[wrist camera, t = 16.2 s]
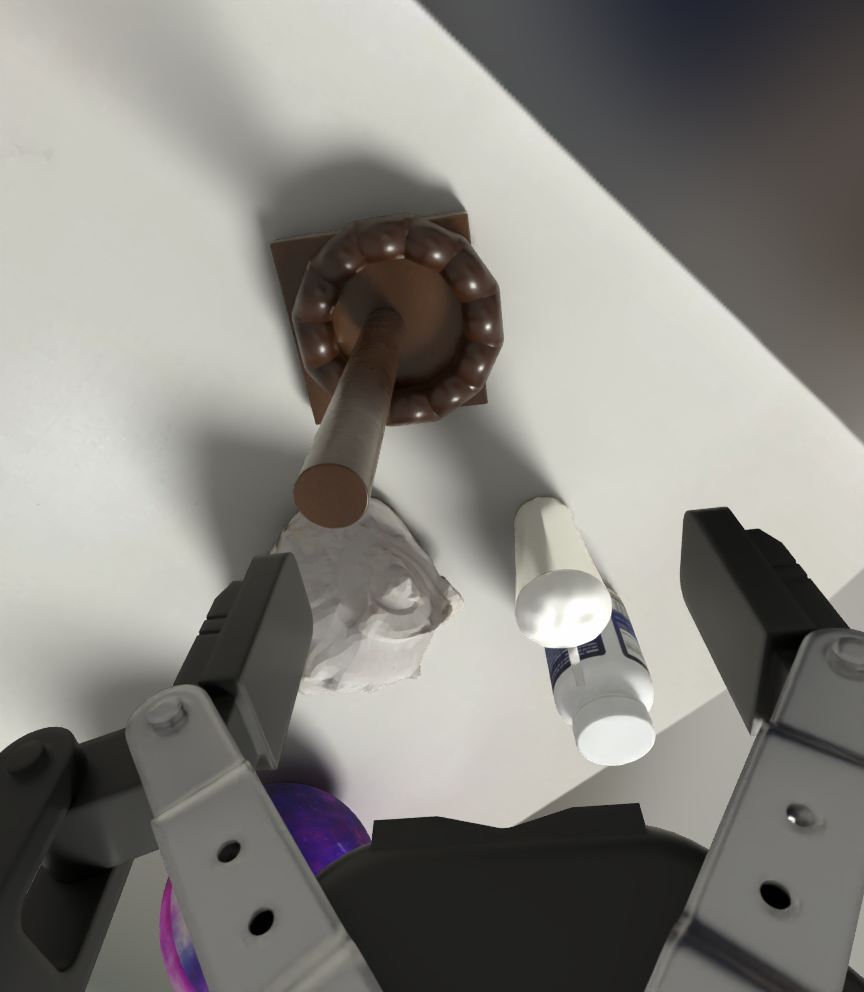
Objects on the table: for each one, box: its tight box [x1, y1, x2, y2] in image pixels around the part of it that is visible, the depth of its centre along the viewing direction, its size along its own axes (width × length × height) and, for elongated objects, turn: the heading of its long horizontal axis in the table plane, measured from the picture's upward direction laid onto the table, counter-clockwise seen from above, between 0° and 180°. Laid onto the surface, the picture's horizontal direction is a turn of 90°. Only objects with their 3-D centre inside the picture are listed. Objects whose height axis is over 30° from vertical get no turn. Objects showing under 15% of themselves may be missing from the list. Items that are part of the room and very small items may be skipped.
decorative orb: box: [160, 783, 372, 992], centre depth 45 cm, size 15×15×15 cm
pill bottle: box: [545, 587, 655, 765], centre depth 36 cm, size 5×5×10 cm
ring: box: [292, 213, 504, 426], centre depth 30 cm, size 10×10×2 cm
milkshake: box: [514, 497, 612, 687], centre depth 33 cm, size 4×5×10 cm
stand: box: [270, 211, 488, 529], centre depth 24 cm, size 9×9×17 cm
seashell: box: [270, 497, 464, 695], centre depth 36 cm, size 12×14×10 cm
